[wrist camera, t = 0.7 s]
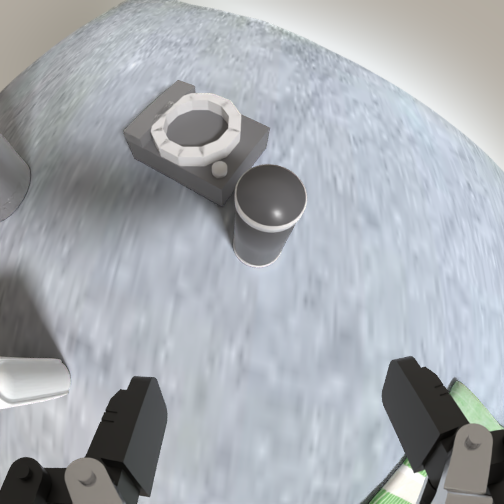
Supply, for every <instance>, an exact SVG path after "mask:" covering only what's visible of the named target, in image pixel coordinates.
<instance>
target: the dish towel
mask: <svg viewBox="0 0 504 504" xmlns="http://www.w3.org/2000/svg"><path fill="white" fill-rule="evenodd" d="M449 394H450V395H451V396H452V398H453V399H454V400H455V402H456V403H457V405H458V406H459V408H460V409H461V411H462V412H463V414H464V415H465V417H466V418H467V420H468V421H469V423H470V424H471V423H476V424H480V425H483V426H484V427H486V428H487V429H488V430H489V431H495V430H501V429H504V428H503V427H502V426H500V425H499V424H498V422H497V421H496V420H495V419H494V417H493V416H492V415H491V414H490V412H489V411H488V410H487V409H486V408H485V407H484V406H483V404H482V403H481V402H480V401H479V399H478V398H477V397H476V396H475V395H474V394H473V393H472V392H471V391H470V390H469V389H468V388H467V387H466V386H465V385H463V384H462V383H461V382H458V381H456V382H455V384H454V385H453V386H452V389H451V391H450V393H449ZM426 476H427V473H426V471H425V470H423V471H420V472H418V473H415V474H414V473H413V470H412V468H411V466H410V463H409V461H408V459H407V458H406V459H405V461H404V462H403V464H402V465H401V466H400V467H399V468H398V469H397V471H396V472H395V473H394V474H393V475H392V477H391V478H390V479H389V480H388V482H387V483H386V484H385V485H384V486H383V487H382V488H381V490H380V491H379V492H378V493H377V494H376V495H375V496H374V498H373V499H372V500H371V501H370V503H369V504H416V502H417V499H418V496H419V494H420V491H421V488H422V486H423V483H424V480H425V478H426Z"/></svg>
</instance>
